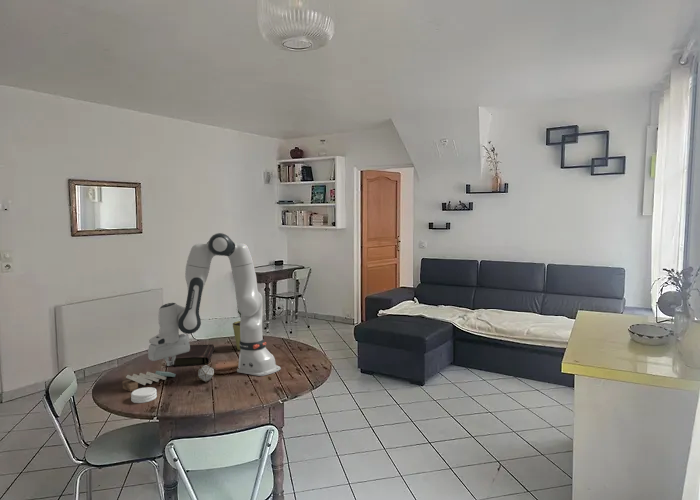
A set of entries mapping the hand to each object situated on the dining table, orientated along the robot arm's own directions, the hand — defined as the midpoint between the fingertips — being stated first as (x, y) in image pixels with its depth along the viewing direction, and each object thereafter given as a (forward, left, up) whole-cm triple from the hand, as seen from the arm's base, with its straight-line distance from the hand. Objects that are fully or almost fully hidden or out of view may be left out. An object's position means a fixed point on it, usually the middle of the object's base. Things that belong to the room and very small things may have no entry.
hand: (170, 365), depth 223 cm
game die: (-20, -6, -6) cm, 22 cm away
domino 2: (0, +11, -5) cm, 12 cm away
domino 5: (0, -1, -5) cm, 5 cm away
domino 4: (0, +4, -5) cm, 6 cm away
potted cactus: (+9, -54, -6) cm, 55 cm away
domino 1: (0, +14, -5) cm, 15 cm away
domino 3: (0, +7, -5) cm, 9 cm away
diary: (+16, -24, -6) cm, 30 cm away
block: (0, +20, -6) cm, 21 cm away
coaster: (-16, +22, -6) cm, 28 cm away
